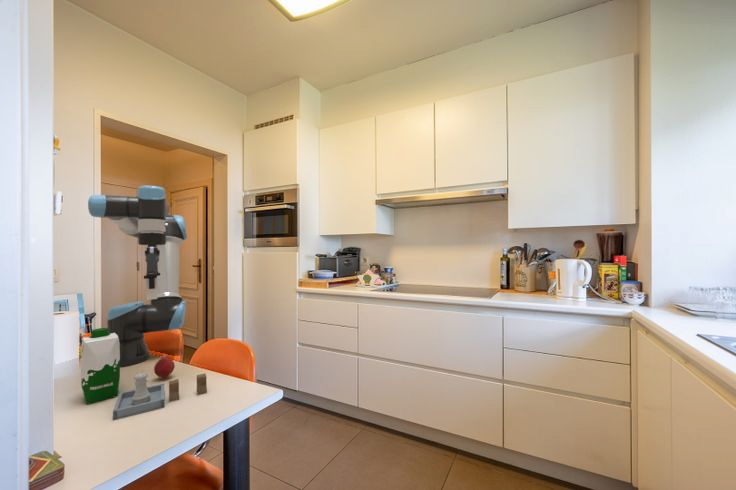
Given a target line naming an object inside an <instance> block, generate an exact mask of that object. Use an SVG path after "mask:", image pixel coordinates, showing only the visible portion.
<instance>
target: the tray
mask: <svg viewBox="0 0 736 490" xmlns="http://www.w3.org/2000/svg"><path fill="white" fill-rule="evenodd" d="M135 390H136V389H133V390H127V391H122V392H118V396H117V399H116V402H115V404H114V405H115V406H114V408H113V410H112V420H113V421H115V420H119V419H123V418H127V417H132V416H134V415H135V416H136V415H139V414H143V413H146V412H150V411H155V410H159V409H163V408H165V383H160V384H155V385H150V386H147V390H148V392H149V393H150V397H151V398H150V400H149V401H148V402H146V403H142V404H138V405H134V404H132V403H131V402H132V401H133V400H132V397H133V396H134V394H135Z"/></svg>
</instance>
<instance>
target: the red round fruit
mask: <svg viewBox="0 0 736 490" xmlns="http://www.w3.org/2000/svg"><path fill="white" fill-rule="evenodd" d="M175 364H176V363H175V362H174V361H173V359H171V358H170V357H168V355H167V354H163V356H162V357H161V358H160V359H158V360H157V362H156V363H155V365H154V369H153V370H154V374H155V375H156V376H157V377H159V378H161V379H167V378H168V377H169V376H170V375H171V374H172V373H173V372H174V369H175V366H176V365H175Z"/></svg>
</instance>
